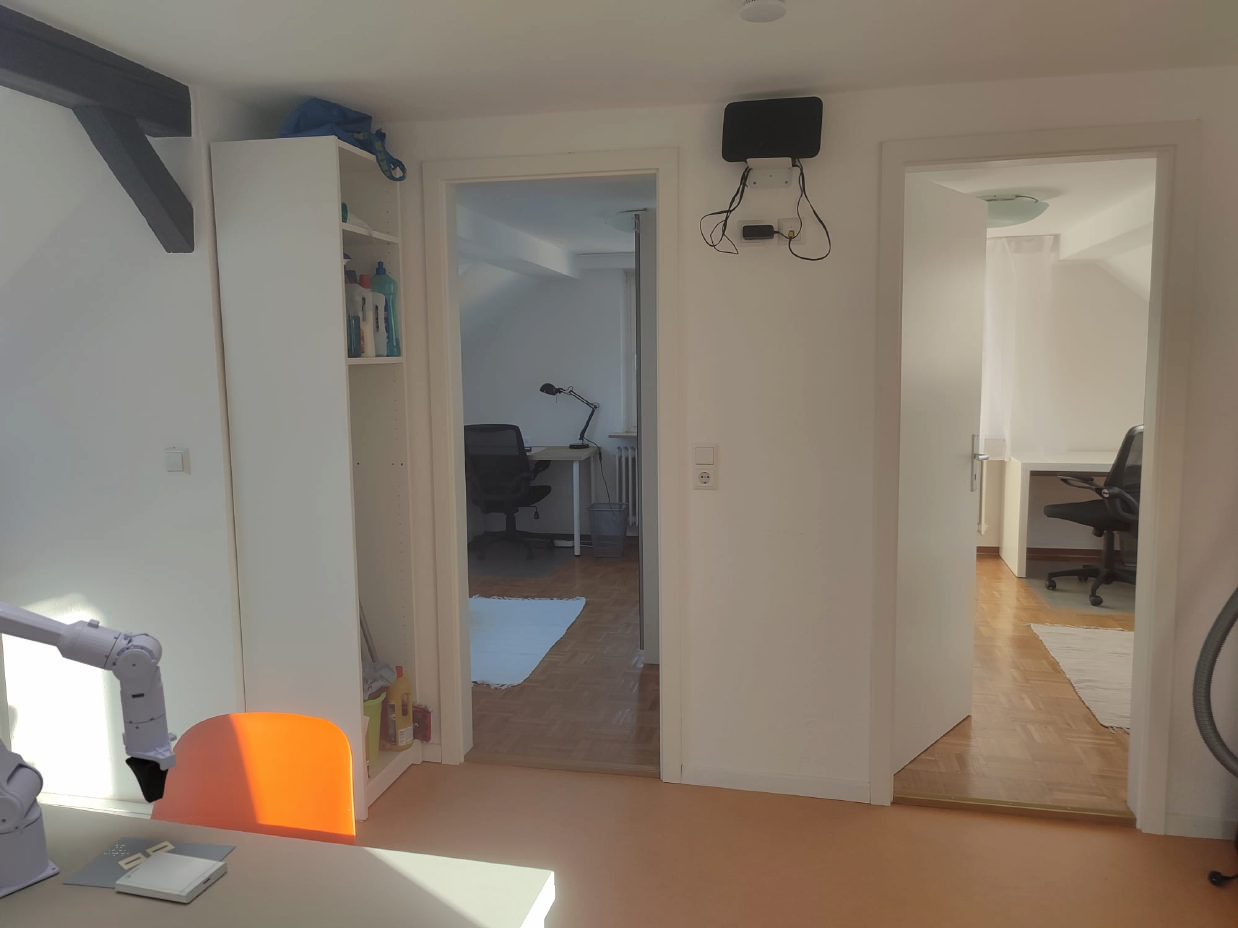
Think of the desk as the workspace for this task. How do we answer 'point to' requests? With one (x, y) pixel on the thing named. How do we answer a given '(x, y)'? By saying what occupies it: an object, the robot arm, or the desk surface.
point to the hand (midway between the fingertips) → (154, 799)
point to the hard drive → (171, 877)
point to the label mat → (139, 859)
